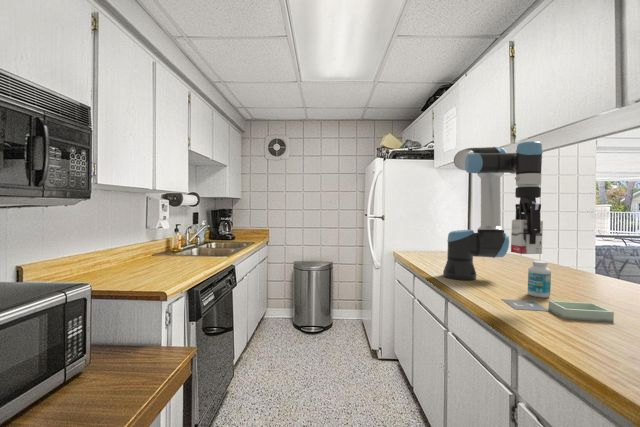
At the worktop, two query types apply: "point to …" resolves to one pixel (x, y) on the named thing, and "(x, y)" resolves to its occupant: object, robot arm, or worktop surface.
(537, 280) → the pill bottle
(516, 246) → the ink box
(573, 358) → the worktop surface
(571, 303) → the tray
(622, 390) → the worktop surface
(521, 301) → the label
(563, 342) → the worktop surface
